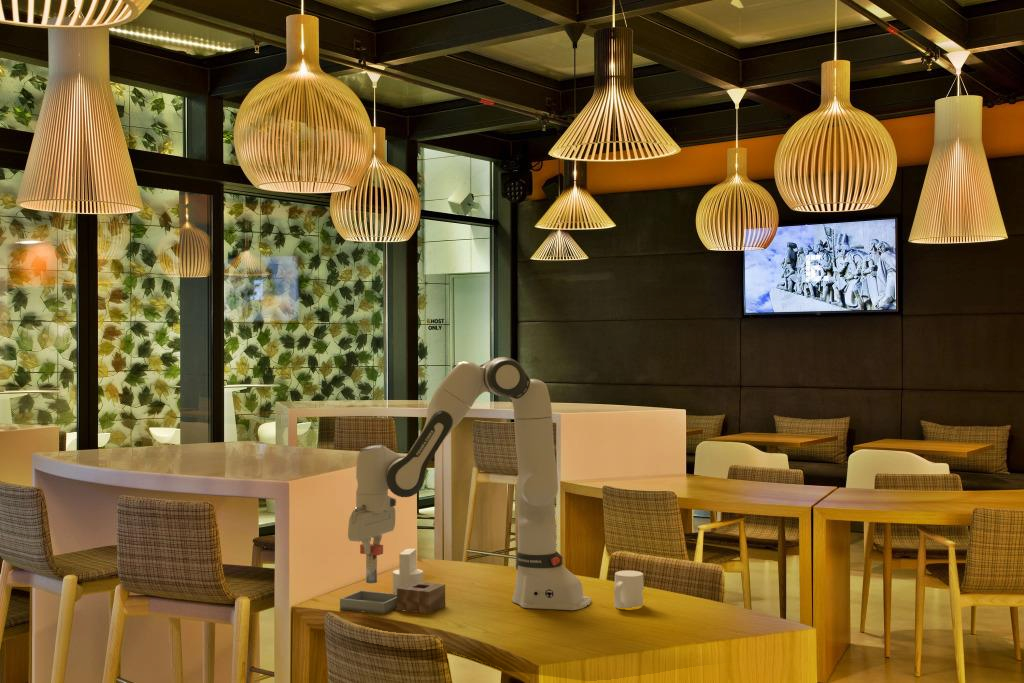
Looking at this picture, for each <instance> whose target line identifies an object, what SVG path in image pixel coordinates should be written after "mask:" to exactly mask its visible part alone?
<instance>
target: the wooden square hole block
mask: <svg viewBox="0 0 1024 683" xmlns="http://www.w3.org/2000/svg"><path fill="white" fill-rule="evenodd" d="M444 605H445V606H446V584H445V583H435V582H425V581H423V582H417V581H413V582H411V583H409V584H406V585H404V586H402V587H399V588H397V609H396V611H400V610H405V611H404V612H409V611H417V612H416V613H418V612H426V613H425V614H427V613H429V614H431V613H433V612H435V611H437V610H439V609H441V608H443V607H445V606H444ZM442 606H443V607H442ZM440 607H441V608H440ZM438 608H439V609H438ZM436 609H437V610H436ZM434 610H435V611H434ZM432 611H433V612H432ZM430 612H431V613H430Z"/></svg>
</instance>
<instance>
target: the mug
mask: <svg viewBox="0 0 1024 683" xmlns="http://www.w3.org/2000/svg"><path fill="white" fill-rule="evenodd" d="M644 584H645V583H644V573H643V572H642V571H638V570H629V569H628V570H627V569H626V570H619V571H616V572H615V573H614V589H613V590H614V592H613V593H614V594H613V603H614V605H613V606H614V608H615V607H617V608H632V607H638V606H641V605H643V606H644V594H643V592H644V590H645V588H644V586H645V585H644Z"/></svg>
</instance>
